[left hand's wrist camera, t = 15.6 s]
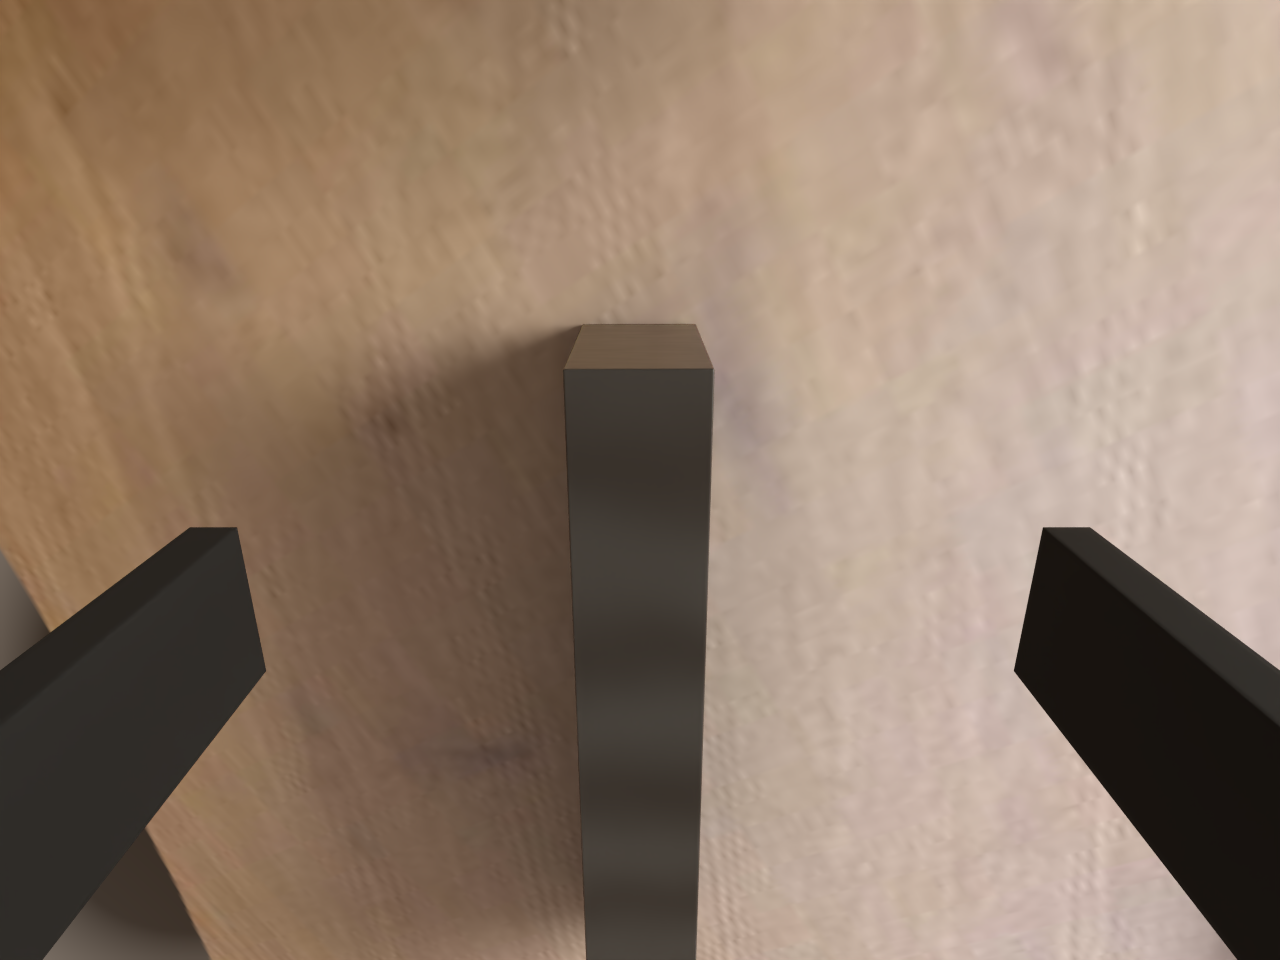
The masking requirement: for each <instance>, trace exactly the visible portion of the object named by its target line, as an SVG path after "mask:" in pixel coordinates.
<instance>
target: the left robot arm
mask: <svg viewBox="0 0 1280 960" xmlns="http://www.w3.org/2000/svg"><path fill="white" fill-rule="evenodd" d="M265 672H266V668H265V663H264V658H263V653H262V648H261V643H260V638H259V633H258V629H257V624H256V619H255V614H254V609H253V604H252V599H251V594H250V589H249V584H248V579H247V574H246V569H245V565H244V560H243V555H242V550H241V545H240V540H239V535H238V530H237V527H190V528H189V529H187V530H186V531H185V532H183V533H182V534H181V535H179V536H178V537H177V538H175V539H174V540H173V541H171V542H170V543H169V544H167V545H166V546H165V547H163V548H162V549H161V550H159V551H158V552H157V553H155V554H154V555H153V556H151V557H150V558H149V559H147V560H146V561H145V562H143V563H142V564H141V565H139V566H138V567H137V568H136V569H134V570H133V571H132V572H130V573H129V574H128V575H126V576H125V577H124V578H122V579H121V580H120V581H118V582H117V583H116V584H114V585H113V586H112V587H110V588H109V589H108V590H106V591H105V592H104V593H102V594H101V595H100V596H98V597H97V598H96V599H94V600H93V601H92V602H90V603H89V604H88V605H86V606H85V607H84V608H82V609H81V610H80V611H78V612H77V613H76V614H75V615H73V616H72V617H71V618H69V619H68V620H67V621H65V622H64V623H63V624H61V625H60V626H59V627H57V628H56V629H55V630H53V631H52V632H51V633H49V634H48V635H47V636H45V637H44V638H43V639H41V640H40V641H39V642H37V643H36V644H35V645H33V646H32V647H31V648H29V649H28V650H27V651H26V652H24V653H23V654H21V655H20V656H19V657H18V658H16V659H15V660H14V661H12V662H11V663H10V664H8V665H7V666H6V667H4V668H3V669H2V670H0V960H43V958H44V957H45V956H46V955H47V953H48V952H49V951H50V949H51V948H52V947H53V945H54V944H55V943H56V942H57V940H58V939H59V938H60V936H61V935H62V934H63V933H64V931H65V930H66V929H67V927H68V926H69V925H70V924H71V922H72V921H73V920H74V918H75V917H76V916H77V914H78V913H79V912H80V911H81V909H82V908H83V907H84V905H85V904H86V903H87V902H88V900H89V899H90V898H91V896H92V895H93V894H94V893H95V891H96V890H97V889H98V887H99V886H100V885H101V883H102V882H103V881H104V880H105V878H106V877H107V876H108V874H109V873H110V872H111V871H112V869H113V868H114V867H115V865H116V864H117V863H118V861H119V860H120V859H121V858H122V856H123V855H124V854H125V852H126V851H127V850H128V849H129V847H130V846H131V845H132V843H133V842H134V841H135V840H136V838H137V837H138V836H139V834H140V833H141V832H142V831H143V829H144V828H145V827H146V825H147V824H148V823H149V822H150V820H151V819H152V818H153V816H154V815H155V814H156V812H157V811H158V810H159V809H160V807H161V806H162V805H163V803H164V802H165V801H166V800H167V798H168V797H169V796H170V794H171V793H172V792H173V791H174V789H175V788H176V787H177V785H178V784H179V783H180V781H181V780H182V779H183V778H184V776H185V775H186V774H187V772H188V771H189V770H190V769H191V767H192V766H193V765H194V763H195V762H196V761H197V760H198V758H199V757H200V756H201V754H202V753H203V752H204V750H205V749H206V748H207V747H208V745H209V744H210V743H211V741H212V740H213V739H214V738H215V736H216V735H217V734H218V732H219V731H220V730H221V729H222V727H223V726H224V725H225V723H226V722H227V721H228V719H229V718H230V717H231V716H232V714H233V713H234V712H235V710H236V709H237V708H238V707H239V705H240V704H241V703H242V701H243V700H244V699H245V698H246V696H247V695H248V694H249V692H250V691H251V690H252V688H253V687H254V686H255V685H256V683H257V682H258V681H259V679H260V678H261V677H262V676H263V674H264V673H265ZM1014 672H1015V673H1016V674H1017V676H1018V677H1019V678H1020V679H1021V681H1022V682H1023V683H1024V685H1025V686H1026V687H1027V688H1028V690H1029V691H1030V692H1031V694H1032V695H1033V696H1034V698H1035V699H1036V700H1037V701H1038V703H1039V704H1040V705H1041V707H1042V708H1043V709H1044V710H1045V712H1046V713H1047V714H1048V716H1049V717H1050V718H1051V719H1052V721H1053V722H1054V723H1055V725H1056V726H1057V727H1058V729H1059V730H1060V731H1061V732H1062V734H1063V735H1064V736H1065V738H1066V739H1067V740H1068V741H1069V743H1070V744H1071V745H1072V747H1073V748H1074V749H1075V750H1076V752H1077V753H1078V754H1079V756H1080V757H1081V758H1082V760H1083V761H1084V762H1085V763H1086V765H1087V766H1088V767H1089V769H1090V770H1091V771H1092V772H1093V774H1094V775H1095V776H1096V778H1097V779H1098V780H1099V781H1100V783H1101V784H1102V785H1103V787H1104V788H1105V789H1106V791H1107V792H1108V793H1109V794H1110V796H1111V797H1112V798H1113V800H1114V801H1115V802H1116V803H1117V805H1118V806H1119V807H1120V809H1121V810H1122V811H1123V812H1124V814H1125V815H1126V816H1127V818H1128V819H1129V820H1130V822H1131V823H1132V824H1133V825H1134V827H1135V828H1136V829H1137V831H1138V832H1139V833H1140V834H1141V836H1142V837H1143V838H1144V840H1145V841H1146V842H1147V843H1148V845H1149V846H1150V847H1151V849H1152V850H1153V851H1154V853H1155V854H1156V855H1157V856H1158V858H1159V859H1160V860H1161V862H1162V863H1163V864H1164V865H1165V867H1166V868H1167V869H1168V871H1169V872H1170V873H1171V874H1172V876H1173V877H1174V878H1175V880H1176V881H1177V882H1178V883H1179V885H1180V886H1181V887H1182V889H1183V890H1184V891H1185V893H1186V894H1187V895H1188V896H1189V898H1190V899H1191V900H1192V902H1193V903H1194V904H1195V905H1196V907H1197V908H1198V909H1199V911H1200V912H1201V913H1202V914H1203V916H1204V917H1205V918H1206V920H1207V921H1208V922H1209V924H1210V925H1211V926H1212V927H1213V929H1214V930H1215V931H1216V933H1217V934H1218V935H1219V936H1220V938H1221V939H1222V940H1223V942H1224V943H1225V944H1226V945H1227V947H1228V948H1229V949H1230V951H1231V952H1232V953H1233V955H1234V956H1235V957H1236V958H1237V960H1280V670H1278V669H1277V668H1276V667H1274V666H1273V665H1272V664H1270V663H1269V662H1268V661H1266V660H1265V659H1264V658H1263V657H1261V656H1260V655H1259V654H1257V653H1256V652H1255V651H1253V650H1252V649H1251V648H1249V647H1248V646H1247V645H1245V644H1244V643H1243V642H1241V641H1240V640H1239V639H1237V638H1236V637H1235V636H1233V635H1232V634H1231V633H1229V632H1228V631H1227V630H1225V629H1224V628H1223V627H1221V626H1220V625H1219V624H1217V623H1216V622H1215V621H1213V620H1212V619H1211V618H1209V617H1208V616H1207V615H1205V614H1204V613H1203V612H1202V611H1200V610H1199V609H1198V608H1196V607H1195V606H1194V605H1192V604H1191V603H1190V602H1188V601H1187V600H1186V599H1184V598H1183V597H1182V596H1180V595H1179V594H1178V593H1176V592H1175V591H1174V590H1172V589H1171V588H1170V587H1168V586H1167V585H1166V584H1164V583H1163V582H1162V581H1160V580H1159V579H1158V578H1156V577H1155V576H1154V575H1152V574H1151V573H1150V572H1148V571H1147V570H1146V569H1144V568H1143V567H1142V566H1141V565H1139V564H1138V563H1137V562H1135V561H1134V560H1133V559H1131V558H1130V557H1129V556H1127V555H1126V554H1125V553H1123V552H1122V551H1121V550H1119V549H1118V548H1117V547H1115V546H1114V545H1113V544H1111V543H1110V542H1109V541H1107V540H1106V539H1105V538H1103V537H1102V536H1101V535H1099V534H1098V533H1097V532H1095V531H1094V530H1093V529H1091V528H1090V527H1043V530H1042V535H1041V540H1040V545H1039V550H1038V555H1037V560H1036V565H1035V569H1034V574H1033V579H1032V584H1031V589H1030V594H1029V599H1028V604H1027V609H1026V614H1025V619H1024V624H1023V628H1022V633H1021V638H1020V643H1019V648H1018V653H1017V658H1016V663H1015V668H1014Z"/></svg>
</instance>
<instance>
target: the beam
mask: <svg viewBox="0 0 1280 960" xmlns="http://www.w3.org/2000/svg"><path fill="white" fill-rule="evenodd" d="M714 372H715V370H714V368H713V365H712V363H711V361H710V358H709V356H708V353H707V351H706V348H705V346H704V343H703V341H702V339H701V336H700V334H699V331H698V329H697V326H696V324H584V325H582V327H581V330H580V332H579V334H578V337H577V339H576V341H575V344H574V346H573V349H572V351H571V353H570V356H569V358H568V360H567V363H566V365H565V367H564V370H563V382H564V407H565V433H566V458H567V484H568V509H569V535H570V560H571V586H572V611H573V636H574V662H575V687H576V713H577V738H578V764H579V789H580V814H581V840H582V865H583V891H584V916H585V942H586V960H696V946H697V914H698V882H699V850H700V818H701V786H702V754H703V722H704V691H705V659H706V627H707V595H708V563H709V531H710V499H711V467H712V435H713V404H714Z"/></svg>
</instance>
